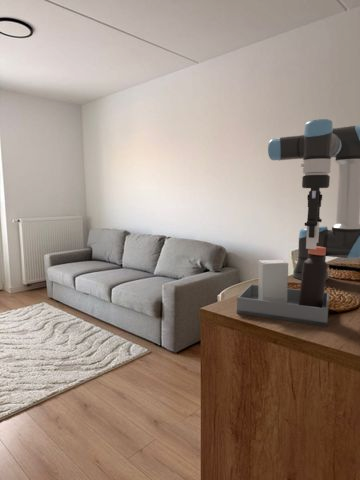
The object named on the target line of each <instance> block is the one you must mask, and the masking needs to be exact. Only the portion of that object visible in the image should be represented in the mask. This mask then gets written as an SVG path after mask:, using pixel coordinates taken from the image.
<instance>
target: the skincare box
mask: <svg viewBox="0 0 360 480" xmlns="http://www.w3.org/2000/svg"><path fill="white" fill-rule="evenodd" d="M288 281H289V262H287V261H286V260H283V259H282V258H281V259H260V260H258V282H257V285H258V300H265V301H272V302H280V303H287V290H288V285H289V283H288Z"/></svg>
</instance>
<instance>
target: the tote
mask: <svg viewBox="0 0 360 480" xmlns="http://www.w3.org/2000/svg"><path fill="white" fill-rule="evenodd" d="M299 297H300V289H299V288H298V289H296V288H288V290H287V303H280V302H272V301H265V300H258V284H252V283H250V284H249V285H248V286H247V287H246V288H245V289H244V290H243V291H242V292H241V293H240V294H239V295H238V296H237V297H236V313H237V314H242V315H247V316H255V317H261V318H267V319H268V318H269V319H275V320H281V321H288V322H295V323H301V324H308V325H315V326H321V327H328V321H329V317H328V316H329V304H330V303H329V302H330V301H329V300H330V293H329V292H325V291H324V297H323V304H322V308H319V307H311V306H304V305H299Z"/></svg>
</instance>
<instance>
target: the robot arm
mask: <svg viewBox="0 0 360 480" xmlns="http://www.w3.org/2000/svg"><path fill="white" fill-rule="evenodd" d="M267 154H268V157H269V159H271V161H287V160H289V161H290V160H300V159H301V160H302V159H303V163H301V164H300V167H301V168H302V173H303V176H301V177H302V180H301V181H302V182H301V188H302V189H310V190H309V191H308V194H307V197H306V198H307V218H306V219H307V220H306V222H304V226H305V227H304V228H301V229H300V230H299V234H298V250H297V251H298V253H297V261H296V264H295V267H294V269H293V274H292V277H293V278H295V279H297V280H302V272H303V263H304V261H305V260H307V259H308V258H309V255H308V254H309V253H308V250H309V249H316V246H320V247H325V248H326V254H325V255H324V256H325V257H324V261H325V262H326V258H327V257H331V258H340V259H341V258H342V259H347V260H349V259H350V260H353V259H354V260H358V259H360V125H350V126H343V127H335V128H333V121H332V120H331V119H328V118H327V119H326V118H321V119H320V118H319V119H318V118H317V119H312V120H309V121H307V122H306V123H305V126H304V132H303V134H301V135H293V136H284V137H283V136H282V137H275V138H271V139H270V140H269V142H268V146H267ZM332 158H335V160H334V161H335V162H336V164H337V165H338V180H337V181H338V182H337V200H336V202H337V203H336V219H335V223H334V224H333V225H332V226H331V229H329V228H328V226H324V225H323V226H320V223H322V222H323V220H322V218H321V217H320V212H321V211H320V208H321V207H322V201H323V194H321V193H322V192H321V191H320V189H328V188H329V187H330V179H331V178H330V177H331V176H330V175H329V174H330V173H331V167H332V165H331V164H332V163H331V162H332ZM329 276H330V272H329V269H328V268H327V273H326V281H328V280H329V279H330V277H329Z"/></svg>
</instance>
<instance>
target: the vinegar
mask: <svg viewBox="0 0 360 480" xmlns="http://www.w3.org/2000/svg"><path fill="white" fill-rule="evenodd" d="M308 253H309V254H308V255H309V258H308V259H307V260H305V261H304V263H303V272H302V280H301V279H300V280H301V281H300V288H299V290H300V297H299V305H304V306H311V307H319V308H322V304H323V297H324V292H325V287H326V281H327V280H326V273H327V269H328V264H327V261H326V260H325V261H324V257H325V256H324V255H325V254H326V248H325V247H320V246H316V249H309V250H308Z"/></svg>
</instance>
